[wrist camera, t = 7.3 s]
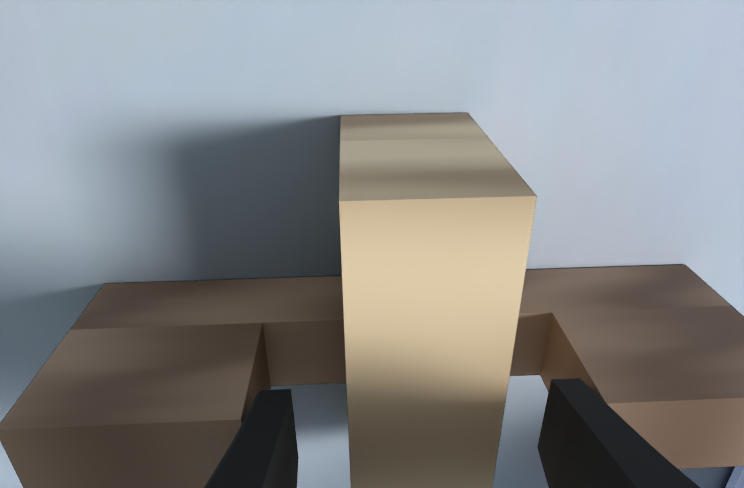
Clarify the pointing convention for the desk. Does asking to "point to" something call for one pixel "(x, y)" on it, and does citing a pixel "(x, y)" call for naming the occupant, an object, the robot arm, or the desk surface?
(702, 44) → the desk surface
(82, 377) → the walnut u-shaped block
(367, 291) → the oak block
